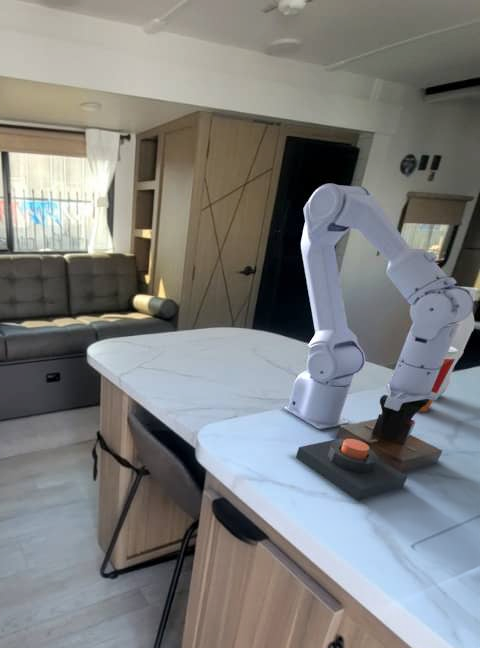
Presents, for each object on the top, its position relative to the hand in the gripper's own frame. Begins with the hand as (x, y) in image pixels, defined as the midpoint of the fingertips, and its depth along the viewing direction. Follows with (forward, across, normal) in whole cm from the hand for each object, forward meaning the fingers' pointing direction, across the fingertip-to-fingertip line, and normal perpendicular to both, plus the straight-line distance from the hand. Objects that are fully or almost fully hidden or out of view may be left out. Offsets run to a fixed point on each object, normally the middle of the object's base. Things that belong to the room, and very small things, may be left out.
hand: (390, 434), depth 72 cm
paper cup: (+3, +26, +3) cm, 27 cm away
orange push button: (0, -13, +1) cm, 13 cm away
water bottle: (+3, +37, +3) cm, 37 cm away
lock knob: (+1, 0, 0) cm, 1 cm away
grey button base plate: (+3, -13, +1) cm, 14 cm away
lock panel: (+3, 0, 0) cm, 3 cm away
